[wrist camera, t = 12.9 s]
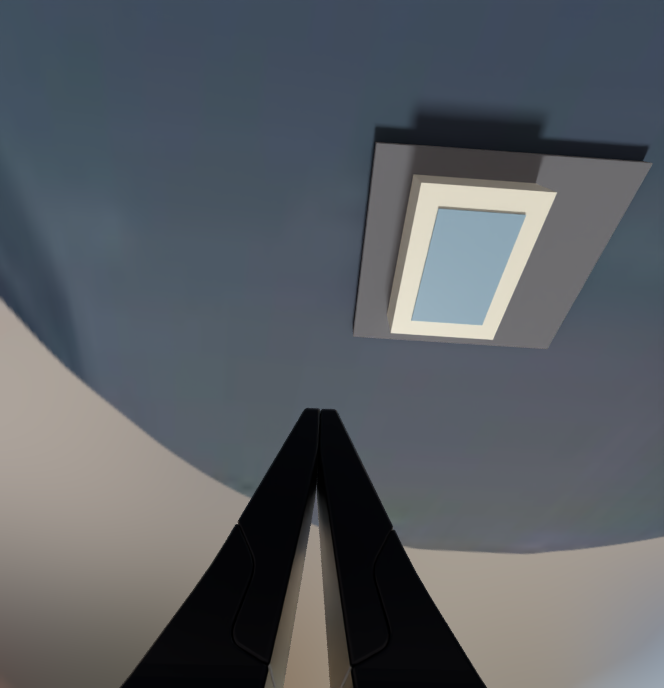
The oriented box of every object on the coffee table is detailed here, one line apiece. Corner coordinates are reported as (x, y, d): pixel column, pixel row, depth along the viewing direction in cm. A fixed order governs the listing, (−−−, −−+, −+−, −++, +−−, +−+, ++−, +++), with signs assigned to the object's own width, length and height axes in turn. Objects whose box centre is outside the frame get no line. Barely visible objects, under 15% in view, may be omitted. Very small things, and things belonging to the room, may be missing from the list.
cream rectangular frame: (493, 340, 19) (390, 333, 19) (481, 321, 21) (386, 315, 21) (558, 192, 14) (421, 183, 14) (535, 183, 16) (413, 174, 16)
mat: (643, 161, 16) (652, 163, 15) (542, 343, 22) (547, 349, 22) (375, 141, 16) (376, 143, 15) (352, 331, 22) (353, 336, 22)
